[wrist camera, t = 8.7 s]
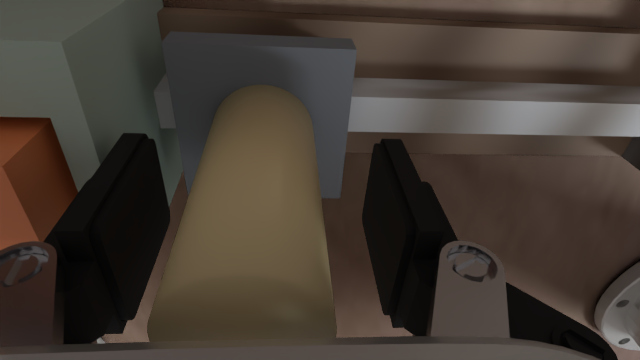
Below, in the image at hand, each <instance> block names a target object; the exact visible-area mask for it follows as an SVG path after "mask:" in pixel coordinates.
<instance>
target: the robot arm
mask: <svg viewBox="0 0 640 360" xmlns="http://www.w3.org/2000/svg"><path fill="white" fill-rule="evenodd" d="M362 221H363V227H364V232H365V236H366V241H367V245H368V249H369V254H370V258H371V263H372V267H373V271H374V276H375V280H376V284H377V289H378V293H379V298H380V302H381V306H382V311H383V314H384V315H390V318H391V322H392V326H393V328H403V327H404V328H405V329H406V330H408V331H409V332H410V333H412V334H413V335H412V336H404V337H348V338H295V339H251V340H209V341H168V342H133V343H98V344H97V339H99V338H100V337H102V336H103V335H104V334H122V333H123V331H124V328H125V325H126V323H127V320H133V319H134V317H135V315H136V313H137V310H138V308H139V305H140V302H141V300H142V297H143V294H144V291H145V289H146V286H147V283H148V280H149V278H150V275H151V272H152V270H153V267H154V264H155V261H156V259H157V256H158V253H159V251H160V248H161V245H162V242H163V240H164V237H165V234H166V232H167V229H168V226H169V223H170V210H169V205H168V200H167V195H166V190H165V186H164V181H163V176H162V171H161V166H160V162H159V157H158V152H157V147H156V143H155V140H154V139H149V138H148V136H147V134H145V133H123V134H122V135H121V137H120V138H119V139H118V141H117V142H116V144H115V145H114V146H113V148H112V149H111V151H110V152H109V153H108V155H107V156H106V158H105V159H104V161H103V162H102V163H101V165H100V166H99V168H98V169H97V170H96V172H95V173H94V175H93V176H92V177H91V179H89V180H88V181H87V182H86V183H85V184H84V185H83V187H82V188H81V190H80V191H79V192H78V194H77V195H76V197H75V198H74V199H73V201H72V202H71V204H70V205H69V206H68V208H67V209H66V211H65V212H64V213H63V215H62V216H61V218H60V219H59V220H58V222H57V223H56V225H55V226H54V227H53V229H52V230H51V232H50V233H49V234H48V236H47V237H46V239H45V240H44V241H43V242H40V241H30V242H23V243H18V244H15V245H12V246H9V247H6V248H4V249H2V250H0V360H618V359H617V356H616V354H615V353H614V351H613V350H612V348H611V347H610V346H609V344H608V343H607V342H606V341H605V340H604V339H603V338H601V337H600V336H599V335H598V334H597V333H595V332H594V331H592V330H591V329H589V328H588V327H586V326H584V325H582V324H580V323H579V322H577V321H575V320H573V319H571V318H570V317H568V316H566V315H564V314H562V313H561V312H559V311H557V310H555V309H553V308H552V307H550V306H548V305H546V304H545V303H543V302H541V301H539V300H537V299H536V298H534V297H532V296H530V295H528V294H527V293H525V292H523V291H521V290H519V289H518V288H516V287H514V286H512V285H510V284H509V283H507V282H506V279H505V270H504V267H503V264H502V262H501V261H500V259H499V258H498V257H497V256H496V255H495V254H494V253H493V252H492V251H490V250H489V249H487V248H485V247H484V246H482V245H479V244H476V243H474V242H469V241H458V239H457V237H456V235H455V233H454V231H453V229H452V227H451V225H450V223H449V221H448V219H447V217H446V215H445V213H444V211H443V209H442V207H441V205H440V203H439V201H438V199H437V197H436V195H435V193H434V191H433V189H432V187H431V185H430V184H429V183H427V182H421V180H420V178H419V176H418V173H417V171H416V169H415V167H414V165H413V163H412V161H411V158H410V156H409V154H408V152H407V150H406V148H405V146H404V144H403V141H402V140H401V139H381V141H380V143H375V144H374V147H373V152H372V158H371V164H370V170H369V177H368V183H367V189H366V195H365V201H364V207H363V214H362ZM594 319H595V324H596V326H597V328H598V329H599V331H600V332H601V334H602V335H603V336H604V337H605V339H606V340H607V341H608V342H609V343H611V344H613V345H615V346H617V347H621V348H625V349H629V350H640V261H639V262H637V263H636V264H635V265H633V266H632V267H631V268H629V269H628V270H627V271H625V272H624V273H622V274H621V275H620V276H619V277H618V278H617V279H616V280H615V281H614V282H613V283H612V284H611V285H610V286H609V287H608V288H607V290H606V291H605V292H604V293H603V295H602V296H601V298H600V300H599V302H598V304H597V306H596V310H595V314H594Z"/></svg>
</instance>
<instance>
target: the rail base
mask: <svg viewBox="0 0 640 360" xmlns="http://www.w3.org/2000/svg"><path fill="white" fill-rule="evenodd" d="M157 17H158V23H159V29H160V35H161V40H162V41H163V40H164V39H165V37H166V36H167V35H168V34H169V33H170V32H171V31H174V32H199V33H224V34H249V35H274V36H299V37H324V38H349V39H352V40H353V42H354V45H355V47H356V49H357V53H356V62H355V71H354V80H353V89H352V98H351V106H350V115H349V124H348V133H347V142H346V151H345V153H372V152H373V147H374V144H375V143H380V141H381V139H401V140H402V141H403V144H404V146H405V148H406V150H407V152H408V154H470V155H547V156H622V157H623V158H624V159H625V160H627V161H628V162H629V163H631V164H632V165H633V166H635V167H636V168H637V169H638V170H640V29H636V28H614V27H592V26H570V25H548V24H527V23H505V22H483V21H461V20H439V19H417V18H395V17H373V16H351V15H329V14H307V13H285V12H263V11H241V10H219V9H197V8H175V7H163V8H162V9H161V10H160V11H159V12H157ZM154 97H155V102H156V107H157V112H158V117H159V122H160V127H161V128H176V124H175V119H174V113H173V107H172V101H171V95H170V90H169V84H168V78H167V72H166V74H165V75H164V77H163V78H162V80H161V81H160V83H159V84H158V86H157V87H156V89H155V90H154Z"/></svg>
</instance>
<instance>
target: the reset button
mask: <svg viewBox="0 0 640 360" xmlns="http://www.w3.org/2000/svg"><path fill="white" fill-rule="evenodd" d="M77 194H78V190H77V188H76V185H75V182H74V180H73V177H72V174H71V172H70V169H69V166H68V164H67V161H66V158H65V156H64V153H63V150H62V148H61V145H60V143H59V140H58V137H57V135H56V132H55V129H54V127H53V124H52V121H51V119H50V118H40V117H0V250H2V249H4V248H6V247H9V246H12V245H15V244H18V243H23V242H30V241H40V242H43V241H44V240H45V239H46V237H47V236H48V234H49V233H50V232H51V230H52V229H53V227H54V226H55V225H56V223H57V222H58V220H59V219H60V218H61V216H62V215H63V213H64V212H65V211H66V209H67V208H68V206H69V205H70V204H71V202H72V201H73V199H74V198H75V197H76V195H77Z"/></svg>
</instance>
